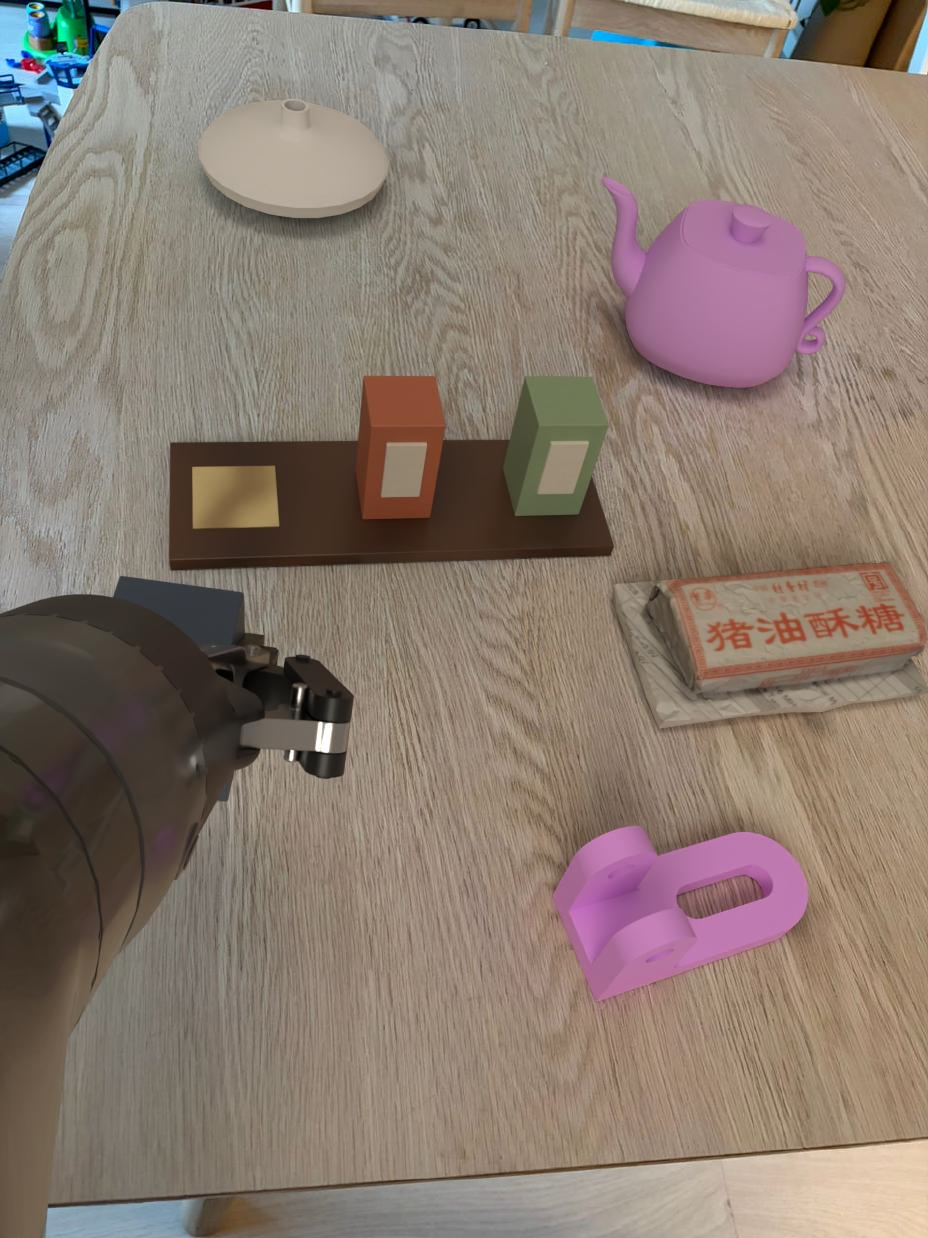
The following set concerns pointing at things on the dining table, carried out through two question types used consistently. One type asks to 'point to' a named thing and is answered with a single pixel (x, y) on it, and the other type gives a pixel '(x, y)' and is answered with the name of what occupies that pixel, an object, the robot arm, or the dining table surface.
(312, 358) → the dining table surface
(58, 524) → the dining table surface
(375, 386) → the orange block
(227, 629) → the navy box with label
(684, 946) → the bracket
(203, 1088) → the dining table surface
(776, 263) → the teapot
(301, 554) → the brown board
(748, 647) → the packaged product
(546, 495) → the green block
